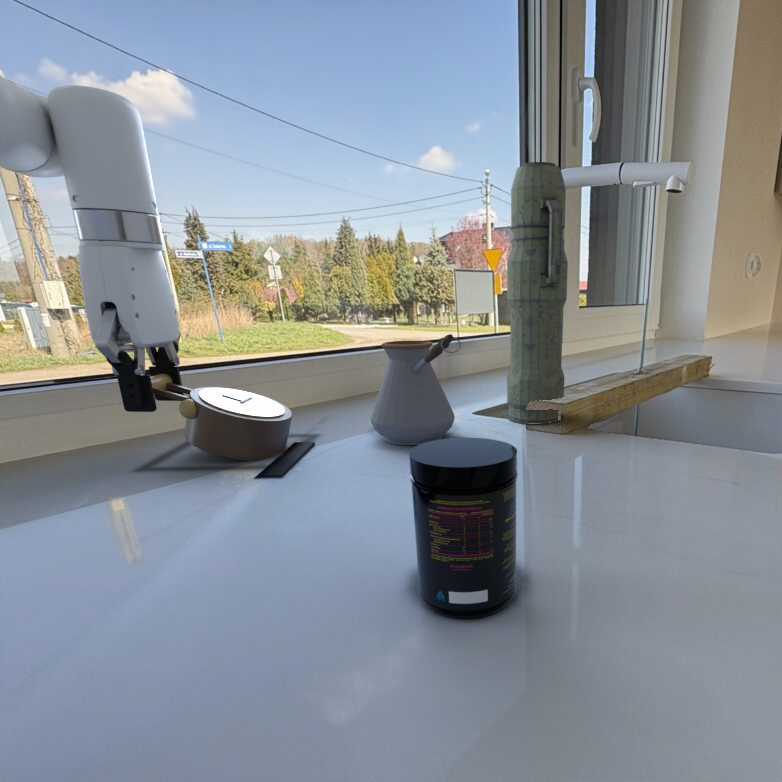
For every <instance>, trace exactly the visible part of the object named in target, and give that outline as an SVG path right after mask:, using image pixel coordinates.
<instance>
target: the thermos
mask: <svg viewBox="0 0 782 782" xmlns="http://www.w3.org/2000/svg"><path fill="white" fill-rule="evenodd" d="M566 195H567V189H566V186H565V181H564V178H563V172H562V168H561V167H560V166H558V165H557V164H556V163H553V162H549V161H548V162H547V161H532V162H531V161H530V162H525V163H522V164H521V166H519V167H517V168H516V170H515V173H514V178H513V181H512V185H511V189H510V198H511V199H510V208H511V209H510V221H511V222H510V226H511V227H510V228H511V229H512V239H511V240H510V251H509V254H508V257H507V262H506V301H507V303H508V305H509V308H510V309H509V311H510V313H509V315H510V319H509V320H510V322H509V323H510V325H509V326H510V327H509V329H510V331H509V332H510V335H509V336H510V339H509V340H510V341H509V344H510V345H509V347H510V354H509V355H510V356H509V357H510V367H509V370H508V373H507V376H506V403H507V405H508V414H507V419H508V420H509V422H512V423H516V424H522V425H526V424H525V423H549V422H555V421H558V411H559V410H553V409H548V410H526V407H527V404H528V403H529V402H530V401H535V400H537V401H539V400H541V401H542V400H552V399H558V398H562V397H564V398H565V374H564V371H563V367H562V356H563V355H562V354H563V326H564V325H563V324H564V323H563V321H564V307H565V305H566V302H567V299H568V295H567V294H568V269H569V267H568V263H569V262H568V260H567V258H568V257H567V255H566V251H565V239H564V229H565V227H566V225H565V224H566V197H567V196H566Z"/></svg>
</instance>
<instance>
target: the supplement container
mask: <svg viewBox="0 0 782 782" xmlns="http://www.w3.org/2000/svg"><path fill="white" fill-rule="evenodd" d="M408 455H409V457H408V458H409V471H410V472H409V473H410V474H409V477H410V479H409V480H410V482H411V491H412V507H413V508H412V509H413V522H414V536H415V548H416V549H415V550H416V565H417V577H418V579H417V580H418V593H419V596H420V598H421V600H422V602H423V603H424V605H425V606H426V607H427V608H428V609H430V610H431V611H432V612H434V613H435V614H437V615H440V616H443V617H446V618H451V619H459V620H472V619H481V618H484V617H488V616H491V615H494V614H496V613H498V612H500V611H502V610H504V608H505V607H507V606H508V605H509V604H510V602H511V601H512V600H513V598H514V596H515V595H516V591H517V479H518V450H517V448H516V447H515V446H514V445H513V444H510V443H509V442H505V441H502V440H497V439H492V438H485V437H451V438H450V437H449V438H441V439H440V440H435V441H430V442H426V443H423V444H420V445H415V446H414V447H412V448H411V449H410V450H409V452H408Z"/></svg>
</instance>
